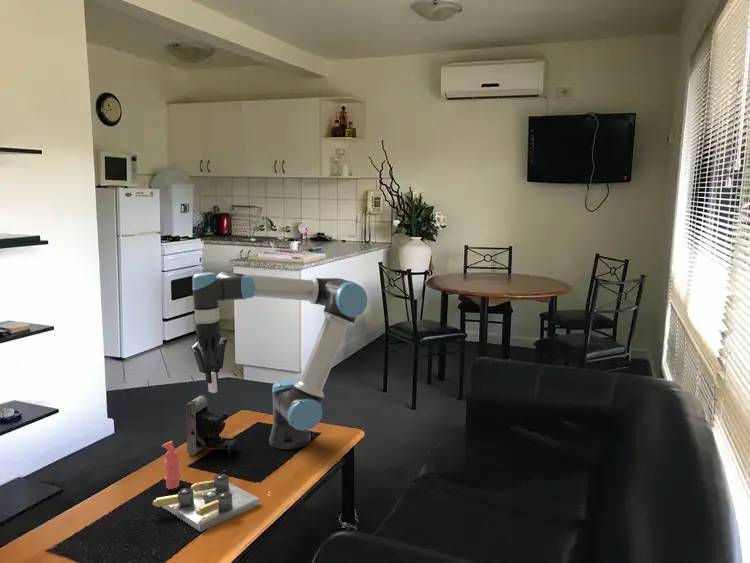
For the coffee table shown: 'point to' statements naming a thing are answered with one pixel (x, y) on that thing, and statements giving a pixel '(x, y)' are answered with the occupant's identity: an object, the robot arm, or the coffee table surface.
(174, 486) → the figurine
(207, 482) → the screw
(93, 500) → the coffee table surface
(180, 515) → the tribrach plate
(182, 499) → the screw
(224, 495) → the screw side
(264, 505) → the coffee table surface
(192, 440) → the vintage camera
